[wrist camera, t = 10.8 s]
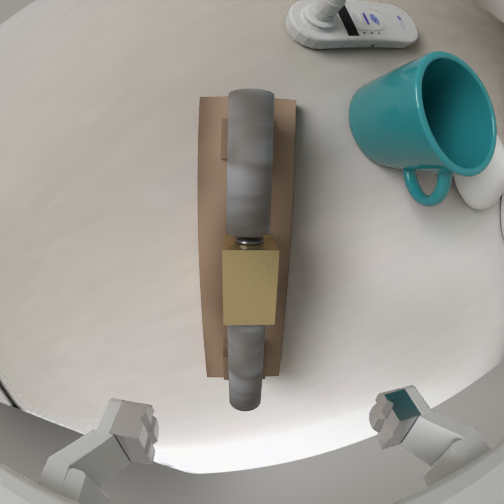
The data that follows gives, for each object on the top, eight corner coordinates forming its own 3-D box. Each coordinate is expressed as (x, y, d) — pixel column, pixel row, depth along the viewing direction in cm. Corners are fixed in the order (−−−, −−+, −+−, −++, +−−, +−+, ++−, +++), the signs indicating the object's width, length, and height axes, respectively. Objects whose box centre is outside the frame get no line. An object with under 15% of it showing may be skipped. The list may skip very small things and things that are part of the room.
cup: (353, 199, 25) (424, 225, 14) (339, 79, 21) (402, 37, 11) (423, 194, 25) (500, 215, 15) (413, 87, 22) (486, 67, 11)
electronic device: (467, 26, 11) (329, 3, 11) (412, 51, 21) (294, 54, 20) (442, -18, 10) (300, -45, 10) (395, 14, 19) (276, 12, 19)
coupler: (271, 231, 21) (279, 245, 17) (267, 302, 23) (274, 328, 19) (224, 230, 21) (222, 245, 17) (224, 302, 23) (223, 328, 19)
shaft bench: (292, 103, 22) (315, 80, 15) (276, 367, 30) (287, 414, 23) (201, 101, 21) (189, 75, 14) (207, 368, 30) (203, 417, 23)
